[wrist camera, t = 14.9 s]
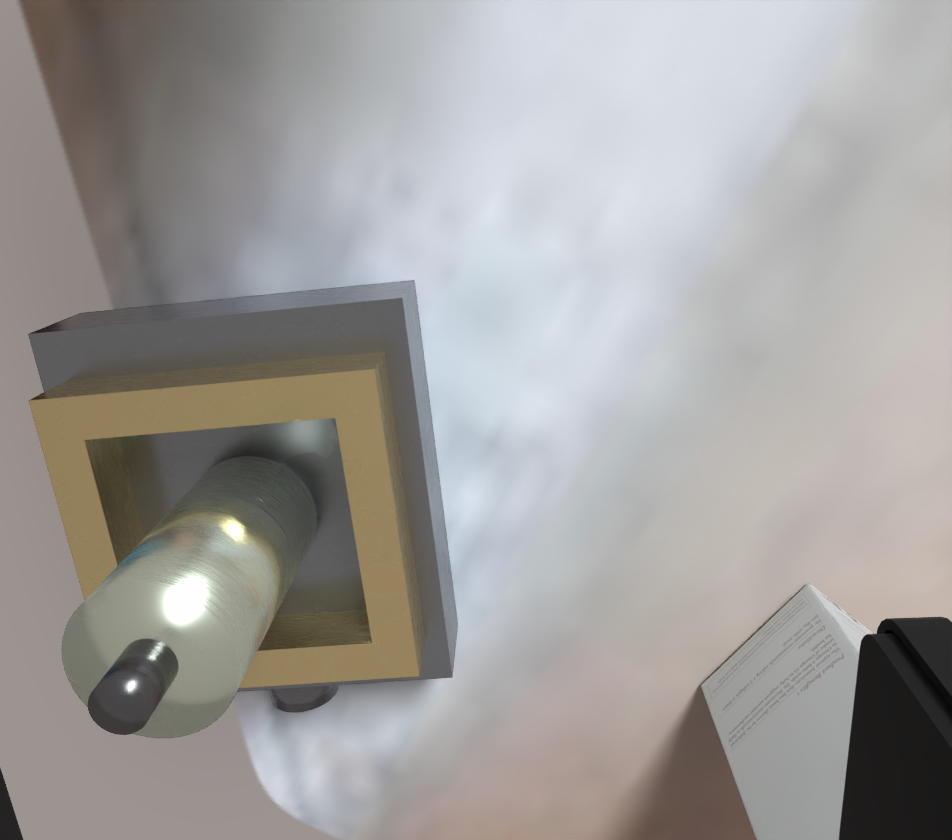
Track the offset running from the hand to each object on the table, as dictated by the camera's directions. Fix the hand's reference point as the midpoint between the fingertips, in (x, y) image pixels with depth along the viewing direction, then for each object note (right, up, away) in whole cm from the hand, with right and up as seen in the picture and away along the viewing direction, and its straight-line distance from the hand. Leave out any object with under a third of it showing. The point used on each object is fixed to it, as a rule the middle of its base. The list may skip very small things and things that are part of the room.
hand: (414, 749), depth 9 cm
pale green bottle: (-8, 0, +24) cm, 25 cm away
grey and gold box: (-8, +1, +28) cm, 29 cm away
